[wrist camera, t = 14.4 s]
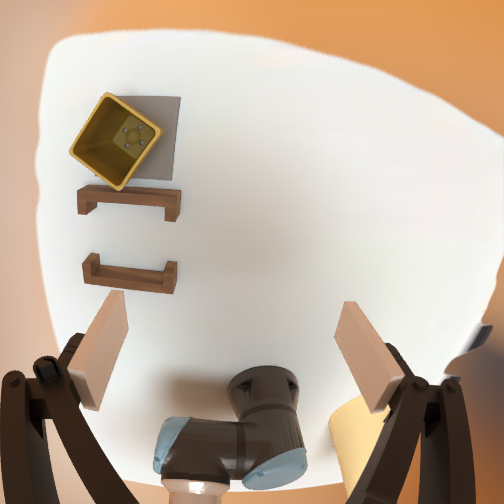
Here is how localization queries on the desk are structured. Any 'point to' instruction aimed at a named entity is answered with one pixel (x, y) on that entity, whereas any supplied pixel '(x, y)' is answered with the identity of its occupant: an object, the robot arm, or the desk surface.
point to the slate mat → (162, 153)
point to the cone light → (355, 438)
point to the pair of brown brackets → (120, 275)
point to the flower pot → (115, 140)
